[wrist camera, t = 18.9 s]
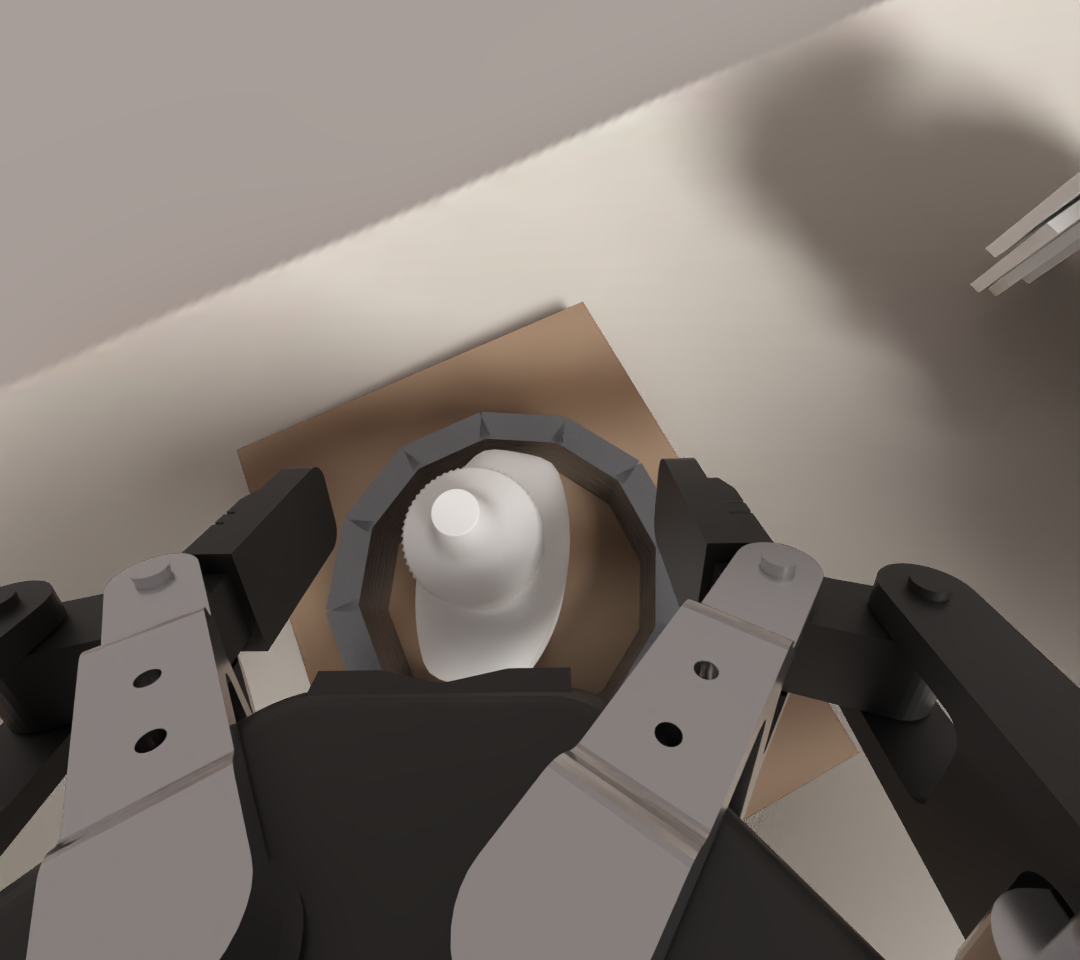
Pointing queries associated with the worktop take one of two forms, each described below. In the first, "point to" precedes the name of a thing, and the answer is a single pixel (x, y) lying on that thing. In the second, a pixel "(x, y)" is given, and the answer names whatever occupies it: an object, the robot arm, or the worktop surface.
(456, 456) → the ring collar
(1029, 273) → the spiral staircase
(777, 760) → the walnut board
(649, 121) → the worktop surface
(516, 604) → the eye dropper bottle
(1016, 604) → the worktop surface
